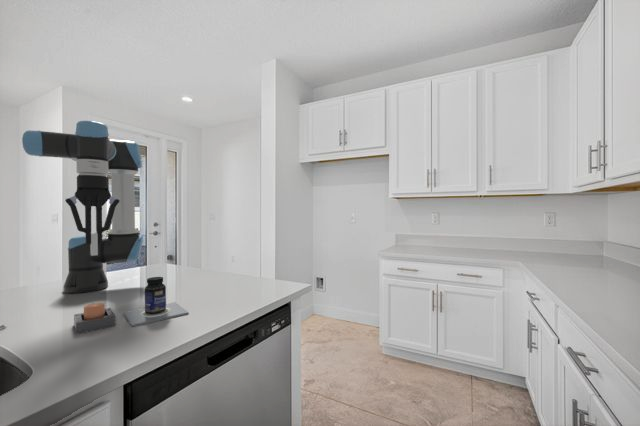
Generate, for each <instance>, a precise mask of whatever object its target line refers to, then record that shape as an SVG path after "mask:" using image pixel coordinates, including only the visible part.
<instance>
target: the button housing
mask: <svg viewBox="0 0 640 426" xmlns="http://www.w3.org/2000/svg"><path fill="white" fill-rule="evenodd" d="M73 326H75V327H74V331H75V334H76V335H78V334H77V333H79V334H83V333H87V332H86V331H88V332H92V331H91V330H93V331H96V329H97V330H101V329H100V328H102V329H106V328H110V327H114V326H116V315H115V313H114V311H113V310H112V308H111V307H107V308H105V316H102V317H97V318H92V319H87V320H84V312H81V313H75V314H74V315H73ZM82 332H83V333H82Z"/></svg>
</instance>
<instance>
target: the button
mask: <svg viewBox="0 0 640 426" xmlns="http://www.w3.org/2000/svg"><path fill="white" fill-rule="evenodd" d="M105 309H106V305H105V303H104V302H95V303H90V304H86V305H84V306H83V313H84V320H87V319H92V318H97V317H102V316H105Z"/></svg>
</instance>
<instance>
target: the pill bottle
mask: <svg viewBox="0 0 640 426" xmlns="http://www.w3.org/2000/svg"><path fill="white" fill-rule="evenodd" d="M146 284H147V285H146V286H145V287H144V308H145V313H146V314H158V313H161V312H164V311H165V310H166V304H167V296H166V295H167V293H166V292H167V290H166V289H167V287H166V284H164V277H163V276H153V277H149V278H147V279H146Z"/></svg>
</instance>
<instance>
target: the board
mask: <svg viewBox="0 0 640 426" xmlns="http://www.w3.org/2000/svg"><path fill="white" fill-rule="evenodd" d="M122 315H123V316H124V318H125V319H126V321H127V322H128V323H129V325H130V326H131V327H137V326H143V325H146V324H151V323H155V322H159V321H163V320H169V319H172V318H177V317H182V316H185V315H189V311H188V310H186V309H185V308H184V307H182V306H181V305H180V304H179V303H177V302H175V301H174V302H170V303H169V302H168V303H166V310H165V311H164V312H161V313H158V314H146V313H145V307H143V308H139V309H134V310H129V311H124V312H122Z"/></svg>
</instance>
